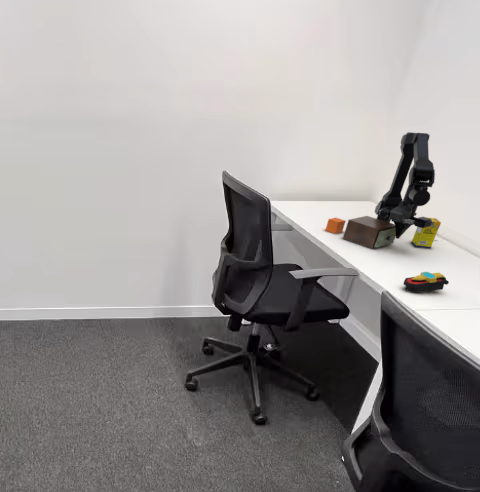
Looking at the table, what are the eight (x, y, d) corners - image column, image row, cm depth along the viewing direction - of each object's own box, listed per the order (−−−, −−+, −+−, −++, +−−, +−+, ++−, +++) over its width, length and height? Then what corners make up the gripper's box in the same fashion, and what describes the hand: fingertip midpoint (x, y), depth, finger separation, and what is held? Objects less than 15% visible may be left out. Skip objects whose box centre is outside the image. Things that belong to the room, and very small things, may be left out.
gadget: (397, 289, 189) (400, 274, 186) (434, 283, 189) (438, 268, 186) (408, 296, 184) (411, 281, 181) (446, 291, 184) (451, 276, 181)
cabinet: (389, 244, 226) (396, 224, 221) (371, 248, 220) (378, 229, 215) (360, 234, 235) (366, 215, 231) (342, 238, 229) (348, 219, 225)
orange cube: (332, 228, 240) (335, 217, 237) (342, 232, 237) (345, 220, 234) (325, 230, 238) (328, 219, 235) (335, 233, 235) (338, 222, 232)
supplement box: (430, 248, 223) (441, 222, 217) (415, 247, 224) (425, 220, 218) (426, 244, 228) (436, 218, 222) (410, 242, 229) (420, 216, 223)
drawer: (395, 244, 223) (401, 229, 220) (379, 248, 218) (384, 233, 214) (365, 234, 233) (370, 219, 229) (349, 238, 227) (354, 223, 224)
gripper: (377, 195, 214) (364, 234, 223) (423, 208, 201) (408, 248, 210) (393, 192, 219) (380, 230, 228) (439, 204, 206) (423, 244, 215)
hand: (397, 238), depth 220 cm, fingers closed
